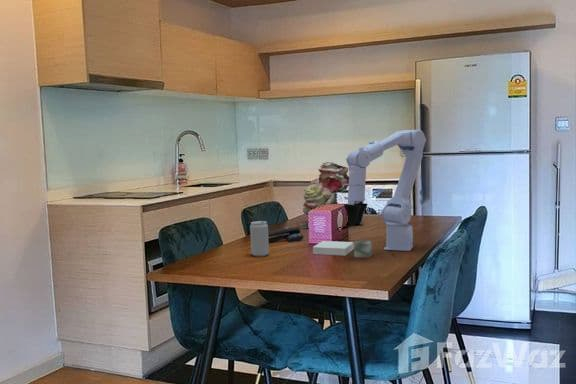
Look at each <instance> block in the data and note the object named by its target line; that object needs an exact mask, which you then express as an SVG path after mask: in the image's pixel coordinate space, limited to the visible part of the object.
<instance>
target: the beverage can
mask: <svg viewBox="0 0 576 384" xmlns="http://www.w3.org/2000/svg"><path fill="white" fill-rule="evenodd" d="M249 231H250V254H251V255H253V257H266V256H268V254H269V253H270V246H269V244H270V243H269V241H268V239H269V237H268V233H269V225H268V221H266V220H264V221H263V220H257V221H255V220H254V221H251V222H250V225H249Z"/></svg>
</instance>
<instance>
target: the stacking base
mask: <svg viewBox="0 0 576 384" xmlns="http://www.w3.org/2000/svg"><path fill="white" fill-rule="evenodd" d="M354 243H355V242H354V241H333V240H332V241H330V240H322V241H321V242H319V243H317V244H315V245H314V246H312V254H313V255H325V256H326V255H327V256H328V255H329V256H347V255H348V254H349V253H351V252H352V251H353V250H354Z"/></svg>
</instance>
